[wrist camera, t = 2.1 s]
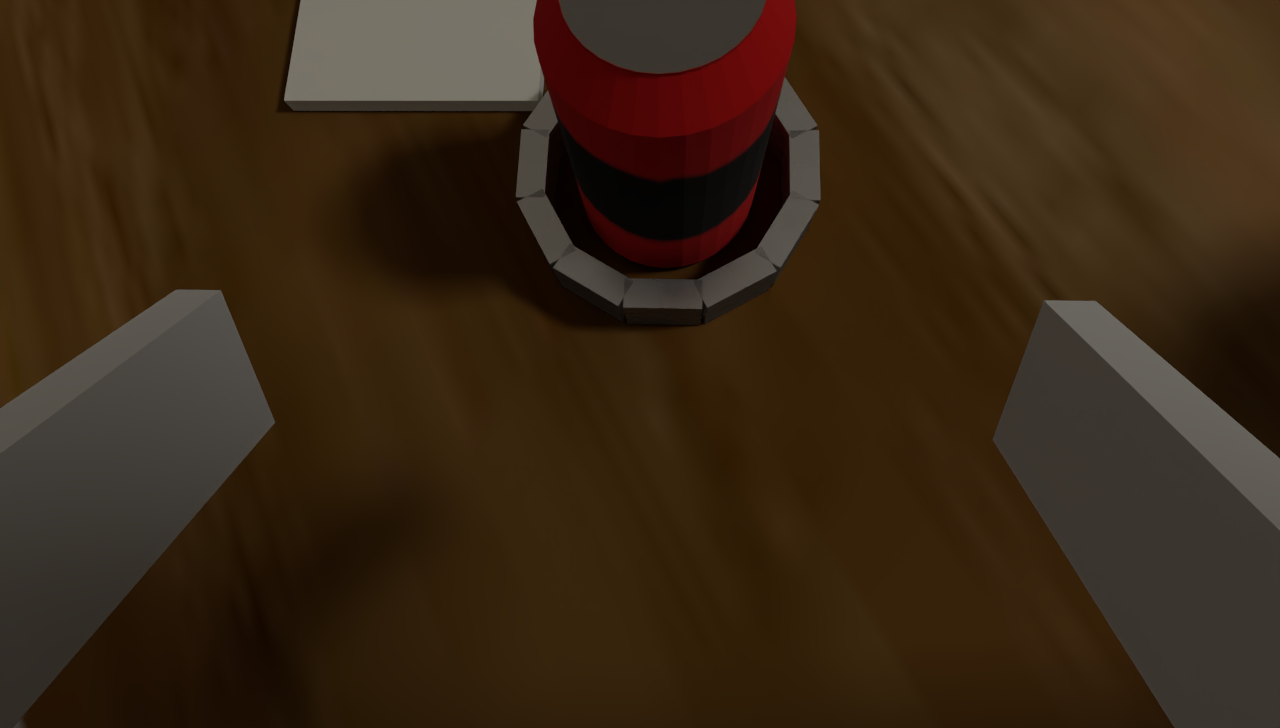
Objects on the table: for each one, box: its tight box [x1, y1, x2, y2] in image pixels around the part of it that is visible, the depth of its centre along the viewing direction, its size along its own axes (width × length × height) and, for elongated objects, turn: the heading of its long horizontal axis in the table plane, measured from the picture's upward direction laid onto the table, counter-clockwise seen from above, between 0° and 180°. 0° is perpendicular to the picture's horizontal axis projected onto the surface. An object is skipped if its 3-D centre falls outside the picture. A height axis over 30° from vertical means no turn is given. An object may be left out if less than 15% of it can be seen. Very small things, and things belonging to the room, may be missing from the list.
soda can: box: [533, 0, 797, 268], centre depth 23 cm, size 8×8×12 cm
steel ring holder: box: [516, 78, 820, 325], centre depth 28 cm, size 12×12×2 cm
